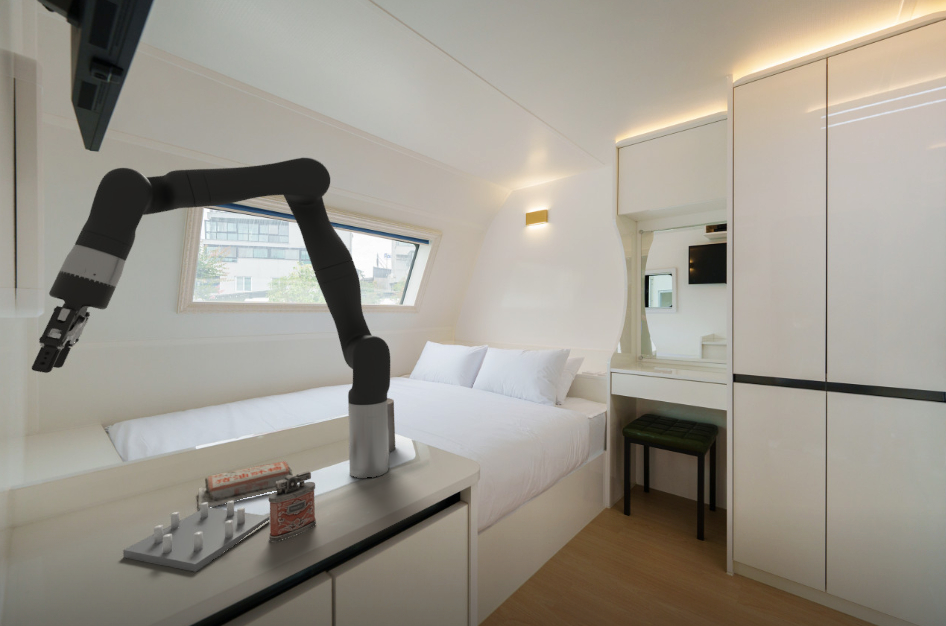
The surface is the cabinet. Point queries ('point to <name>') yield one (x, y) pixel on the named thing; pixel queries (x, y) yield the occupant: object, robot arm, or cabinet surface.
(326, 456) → the cabinet surface
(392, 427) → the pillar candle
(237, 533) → the pin tray
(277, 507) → the lighter
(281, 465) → the packaged product
